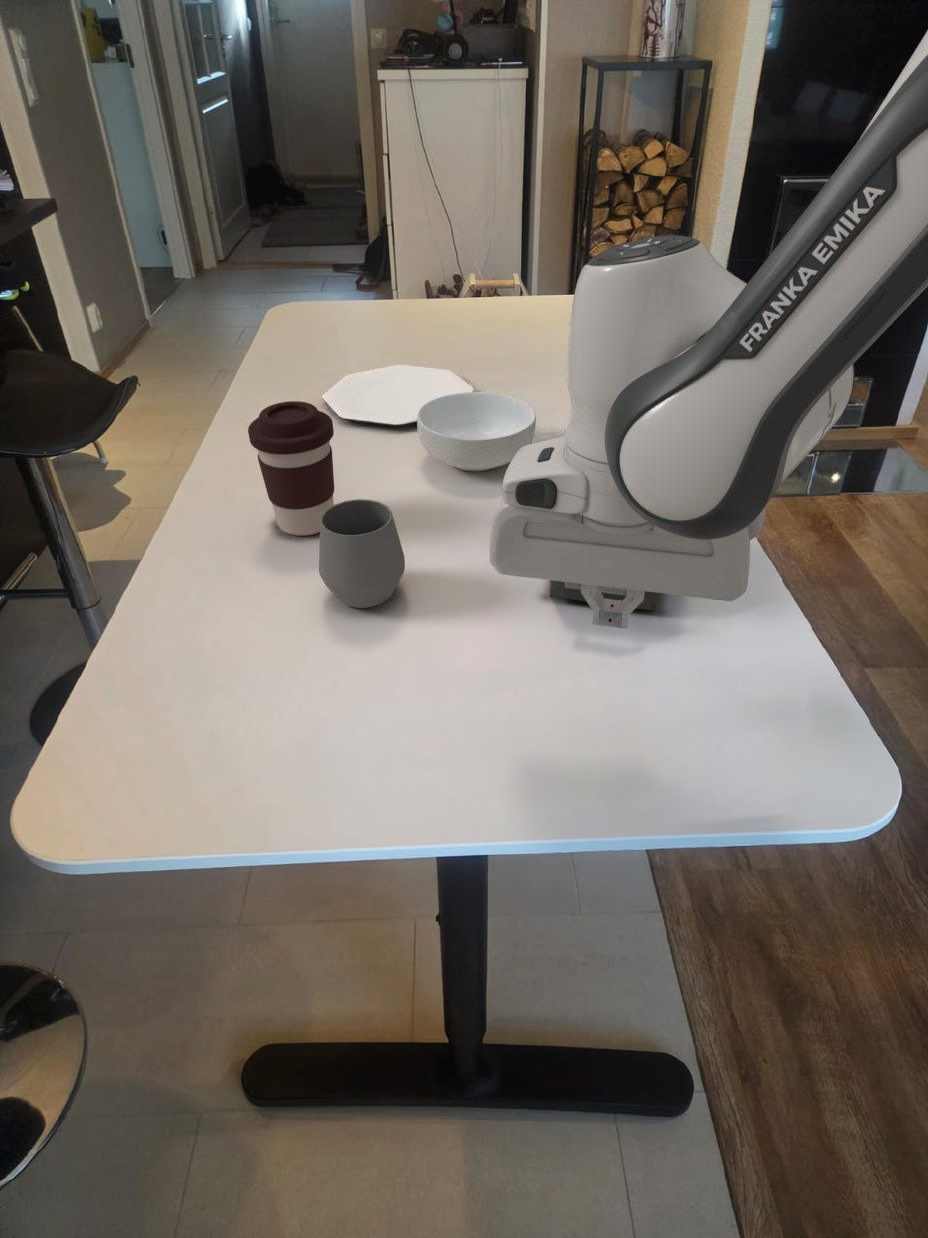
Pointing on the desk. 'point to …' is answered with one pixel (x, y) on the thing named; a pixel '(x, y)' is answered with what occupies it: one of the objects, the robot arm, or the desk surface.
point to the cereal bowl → (475, 429)
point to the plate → (391, 393)
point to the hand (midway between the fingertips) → (610, 622)
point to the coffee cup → (295, 463)
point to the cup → (360, 552)
